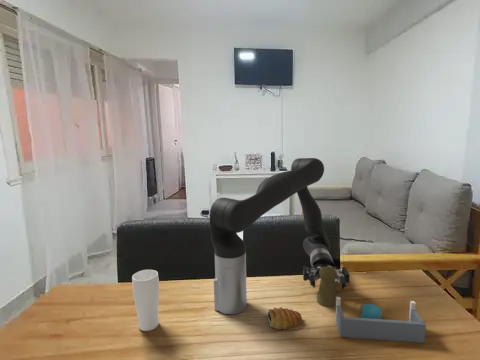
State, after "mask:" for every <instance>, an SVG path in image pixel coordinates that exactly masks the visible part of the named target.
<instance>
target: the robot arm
mask: <svg viewBox="0 0 480 360" xmlns="http://www.w3.org/2000/svg"><path fill="white" fill-rule="evenodd" d="M324 173H325V165H324V163H323V162H322V160H320V159H319V158H316V157H301V158H299V157H298V158H295V159H294V160H293V161H292V163H291V167H290V170H287V171H283V172H279V173H275V174H274V175H271V176H270V177H267V178H266V179H263V180H262V181H261V182H260V183H259V185H258V188H257V189H256V192H255V194H254V195H251V196H249V197H247V198H245V199H241V200H239V199H236V198H235V199H234V198H229V197H219V198H216V199H215V200H214V202H213V203H212V205H211V207H210V211H209V227H210V228H209V229H210V240H211V244H212V247H213V248H214V249H213V251H214V270H215V271H214V272H215V273H214V275H215V276H214V279H213V299H214V301H213V302H214V311H218V312H220V313H221V314H224V315H238V314H240V313H242V312H244V311H245V310H246V309H247V306H248V305H247V303H248V299H247V252H246V251H247V249H246V243H245V241H244V239H242V238H241V237H240V236H239V234H238V233H242V232H244V231H246V230H247V229H249V227H250V226H252V225H253V224H254V223H255V222H256V221H258V220H259V219H260V217H262V216H263V215H265V214H266V213H268V212H269V211H270V210H272V209H274V208H275V207H276V206H278V205H280V204H282V203H283V202H284V201H287V199H289V198H290V197H291V196H293V195H296V194H297V197H298V199H299V200H298V201H299V203H300V206H301V210H302V214H303V215H302V216H303V222H304V228H305V231H306V232H307V233H308V234H314V236H307V237H305V238H304V240H303V242H302V247H303V249H304V252H305V254H307V255H308V257H309V258H310V259H309V260H310V266H311V267H308V266H307V265H305V264H304V265H303V266H302V275H303V276H302V277H303V278H302V279H303V281H305V282H306V281H309V285H310V286H312V288H316V281H318V280H319V279H320V280H321V278H320V275H319V271H320V269H321V268H322V267H332V268H334V269H335V270H336V272H337V278H336V279H335V283H336V282H338V283H339V285H340V288H341V289H342V290H344V289H345V288H347V284H349V283H350V278H351V275H350V273H349V271H348V269H347V267H345V266H343V267H341V268H340V269H338V268H337V267H336V265H335V263H334V259H333V257H332V255H331V254H330V250H331V247H332V246H331V243H330V240H329V238H328V236H327V233H326V231H325V228H324V224H323V222H324V221H323V215H322V211H321V208H320V206H319V204H318V203H317V201H316V200H315V199H314V197H313V196H312V194H311V192H310V190H309V188H308V187H309V186H311V185H313V184H315V183H317V182H319V181H320V180H321V179H322V177H323V176H324Z"/></svg>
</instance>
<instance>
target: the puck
mask: <svg viewBox="0 0 480 360" xmlns="http://www.w3.org/2000/svg"><path fill="white" fill-rule="evenodd" d="M382 312H383V311H382V308H381V307H380V306H379V305H376V304H373V303H365V304H362V305H361V318H370V319H382Z"/></svg>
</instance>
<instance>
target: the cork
mask: <svg viewBox="0 0 480 360" xmlns="http://www.w3.org/2000/svg"><path fill="white" fill-rule="evenodd" d="M319 275H320V282H319V288H318V295H317V301H316V302H317V304H318V305H320V306H321V307H325V308H329V309H330V308H336V297H338V296H337V288H336V282H335V279H336V278H337V272H336V270H335V269H334V268H332V267H322V268H321V269H320V271H319Z"/></svg>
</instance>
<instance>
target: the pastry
mask: <svg viewBox="0 0 480 360" xmlns="http://www.w3.org/2000/svg"><path fill="white" fill-rule="evenodd" d="M266 314H267V315H266V316H267V321H268V322H269V323H268V324H269V327H270V328H272V329H275V330H279V331H280V330H288V329H292V328H296V327H298V326H300V325H301V324H302V322H303V319H302V314H301V312H299V311H297V310H293V309H290V308H289V309H288V308H285V307H284V308H283V307H282V306H281V307H279V308H278V307H273V308H272V309H268V311H267V313H266Z"/></svg>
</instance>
